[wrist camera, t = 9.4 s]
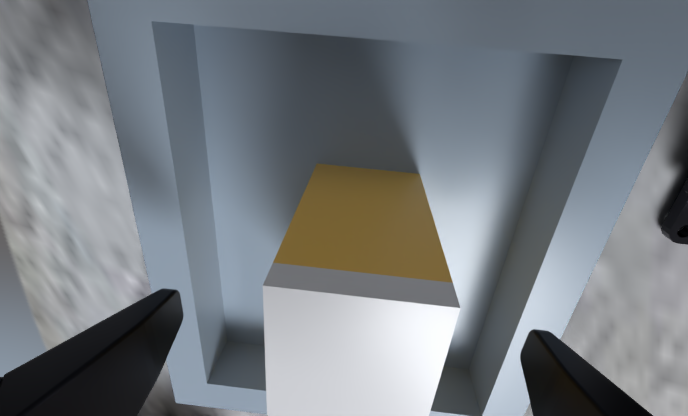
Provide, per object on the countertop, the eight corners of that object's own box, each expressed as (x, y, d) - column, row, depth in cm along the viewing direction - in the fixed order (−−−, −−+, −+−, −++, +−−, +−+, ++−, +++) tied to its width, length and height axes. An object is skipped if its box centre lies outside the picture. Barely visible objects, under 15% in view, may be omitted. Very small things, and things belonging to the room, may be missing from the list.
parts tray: (634, -2, 10) (728, -13, 7) (489, 380, 17) (509, 444, 15) (150, -38, 11) (73, -61, 8) (205, 346, 18) (175, 403, 15)
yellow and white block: (419, 173, 12) (461, 308, 6) (398, 290, 14) (413, 468, 8) (316, 163, 12) (262, 285, 6) (311, 280, 14) (268, 449, 9)
